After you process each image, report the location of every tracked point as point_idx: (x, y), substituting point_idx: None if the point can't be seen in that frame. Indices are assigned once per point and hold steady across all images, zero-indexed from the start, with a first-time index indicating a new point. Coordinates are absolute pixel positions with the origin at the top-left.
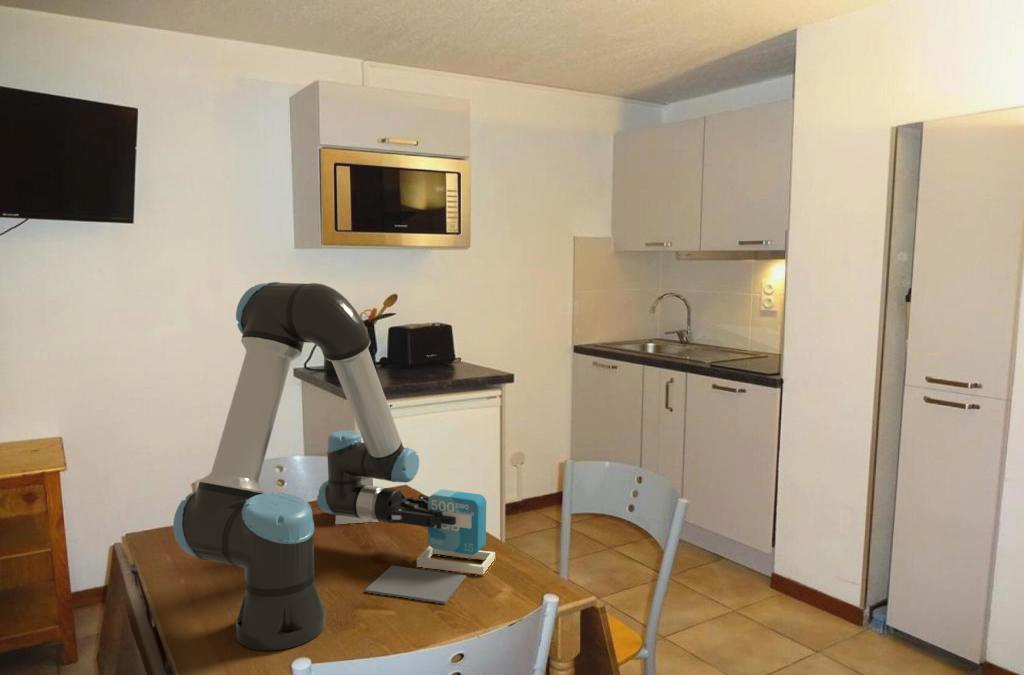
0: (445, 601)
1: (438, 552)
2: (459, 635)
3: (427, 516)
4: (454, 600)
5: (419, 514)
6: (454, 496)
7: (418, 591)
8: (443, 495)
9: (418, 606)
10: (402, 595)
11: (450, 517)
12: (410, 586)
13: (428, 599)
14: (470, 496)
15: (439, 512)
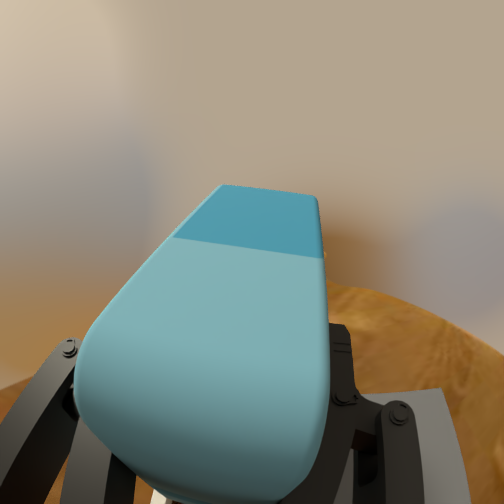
0: (439, 388)
1: (170, 502)
2: (477, 340)
3: (415, 436)
4: (417, 384)
5: (419, 492)
6: (300, 240)
7: (439, 452)
8: (311, 293)
9: (466, 427)
10: (464, 469)
11: (338, 340)
12: (428, 483)
13: (450, 418)
14: (267, 198)
15: (338, 390)
